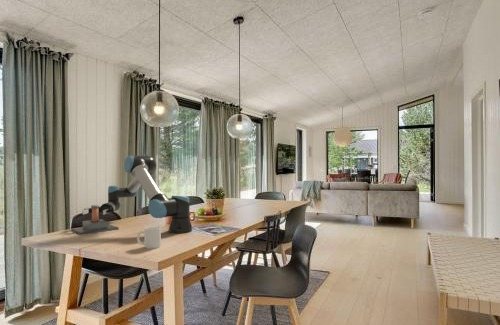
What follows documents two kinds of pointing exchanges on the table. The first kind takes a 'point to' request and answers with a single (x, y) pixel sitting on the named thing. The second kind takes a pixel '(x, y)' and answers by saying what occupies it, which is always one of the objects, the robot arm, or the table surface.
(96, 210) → the pin
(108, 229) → the hitch plate
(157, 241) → the cup
